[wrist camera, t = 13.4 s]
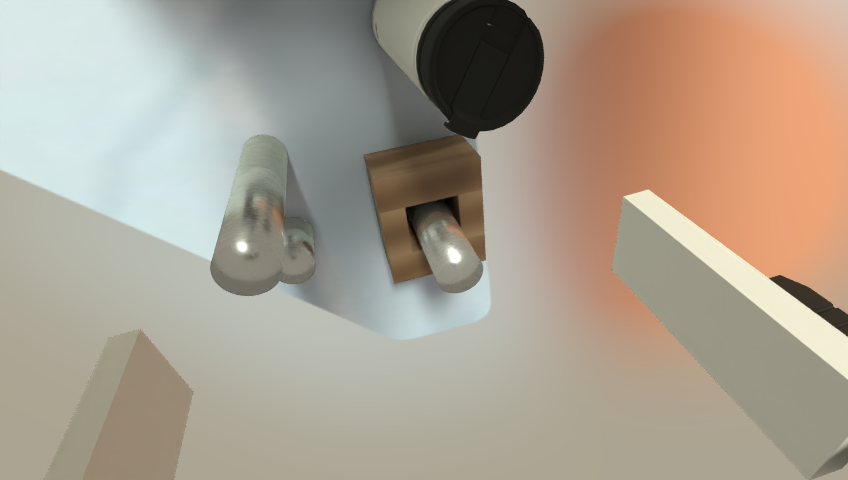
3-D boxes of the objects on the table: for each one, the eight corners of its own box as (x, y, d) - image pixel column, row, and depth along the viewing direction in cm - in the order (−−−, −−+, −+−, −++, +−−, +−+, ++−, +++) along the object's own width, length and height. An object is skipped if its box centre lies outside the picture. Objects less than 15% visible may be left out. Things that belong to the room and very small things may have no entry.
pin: (399, 184, 45) (434, 261, 34) (435, 176, 46) (481, 248, 34) (405, 216, 47) (439, 298, 36) (439, 207, 48) (484, 286, 37)
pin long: (235, 139, 39) (198, 251, 24) (280, 130, 39) (269, 234, 25) (251, 179, 41) (226, 302, 27) (293, 170, 42) (290, 286, 27)
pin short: (268, 222, 44) (265, 255, 39) (307, 213, 44) (308, 245, 40) (280, 253, 46) (278, 288, 41) (317, 244, 47) (319, 278, 42)
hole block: (363, 154, 42) (372, 180, 38) (460, 134, 44) (480, 156, 39) (385, 251, 49) (394, 283, 45) (467, 230, 51) (485, 260, 46)
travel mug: (358, 44, 37) (406, 114, 21) (388, -38, 34) (469, -31, 18) (421, 74, 40) (508, 156, 23) (454, -1, 37) (577, 35, 21)
